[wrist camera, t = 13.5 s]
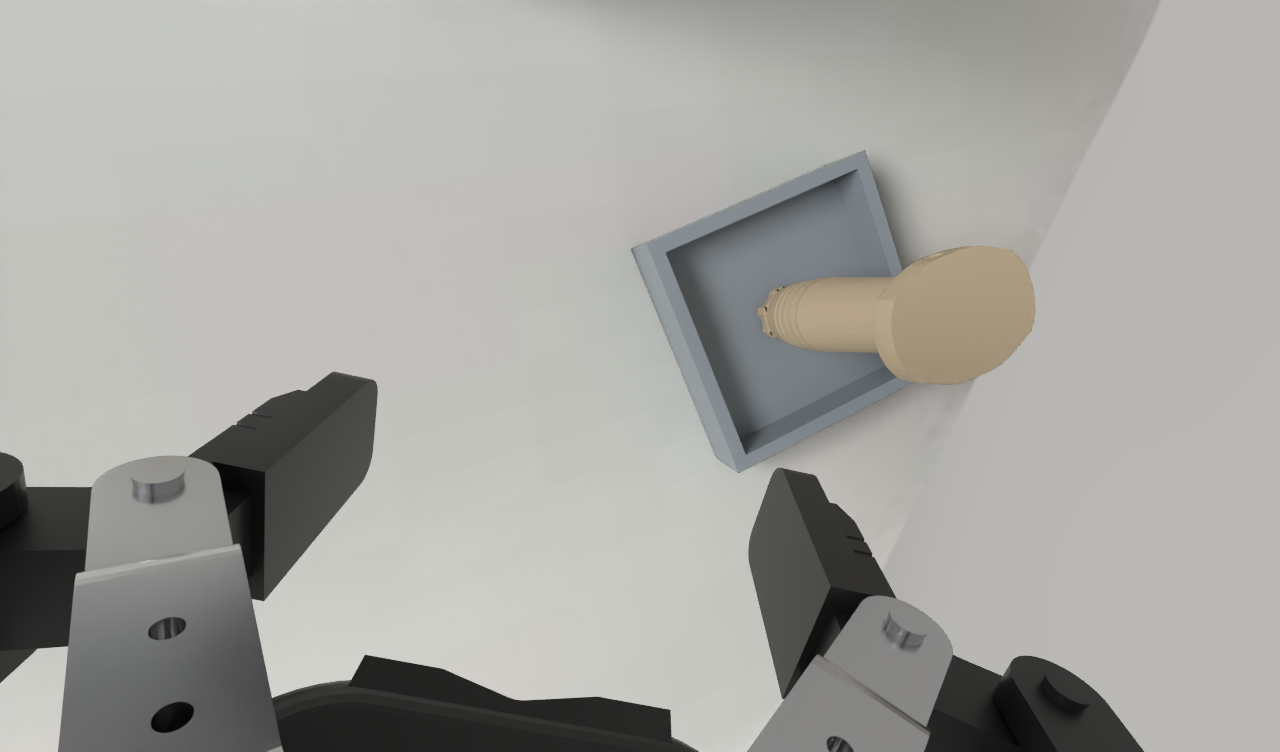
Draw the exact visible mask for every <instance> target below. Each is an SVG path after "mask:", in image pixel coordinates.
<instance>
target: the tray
mask: <svg viewBox="0 0 1280 752" xmlns="http://www.w3.org/2000/svg"><path fill="white" fill-rule="evenodd" d="M631 250H632V253H633V255H634V258H635V260H636V263H637V265H638V267H639V270H640V272H641V275H642V277H643V280H644V282H645V285H646V287H647V289H648V292H649V294H650V297H651V299H652V302H653V304H654V307H655V309H656V311H657V314H658V316H659V319H660V321H661V324H662V326H663V329H664V331H665V334H666V336H667V338H668V341H669V343H670V346H671V348H672V351H673V353H674V356H675V358H676V360H677V363H678V365H679V368H680V370H681V373H682V375H683V378H684V380H685V382H686V385H687V387H688V390H689V392H690V395H691V397H692V400H693V402H694V404H695V407H696V409H697V412H698V414H699V417H700V419H701V422H702V424H703V426H704V429H705V431H706V434H707V436H708V439H709V441H710V444H711V446H712V448H713V451H714V453H715V456H716V458H717V459H719V460H720V461H721V462H723V463H724V464H726V465H727V466H729V467H730V468H732V469H733V470H735V471H736V472H738V473H740V472H742V471H744V470H746V469H748V468H750V467H752V466H754V465H756V464H758V463H759V462H761V461H763V460H765V459H767V458H769V457H771V456H773V455H775V454H777V453H779V452H781V451H783V450H784V449H786V448H788V447H790V446H792V445H794V444H796V443H798V442H800V441H802V440H804V439H806V438H808V437H809V436H811V435H813V434H815V433H817V432H819V431H821V430H823V429H825V428H827V427H829V426H831V425H832V424H834V423H836V422H838V421H840V420H842V419H844V418H846V417H848V416H850V415H852V414H854V413H856V412H857V411H859V410H861V409H863V408H865V407H867V406H869V405H871V404H873V403H875V402H877V401H879V400H881V399H882V398H884V397H886V396H888V395H890V394H892V393H894V392H896V391H898V390H900V389H902V388H904V387H906V386H907V385H909V384H911V383H913V382H912V381H906V380H902V379H899V378H898V377H896V376H895V375H894V374H893V373H892V372H891V371H890V370H889V369H888V368H887V367H886V366H885V364H884V362H883V360H882V359H881V357H880V355H879V353H867V352H822V351H815V350H809V349H804V348H800V347H796V346H793V345H790V344H788V343H785V342H783V341H781V340H780V339H778V338H771V337H768V336H766V335H765V334H764V333H763V331H762V328H763V325H762V321H761V319H760V317H759V316H758V315H757V310H758V307H760V306H762V305H763V304H764V303H765V302H766V300H767V298H768V296H769V292H770V291H772V290H773V289H775V288H778V287H782V286H789V285H791V284H794V283H798V282H802V281H806V280H811V279H818V278H826V277H896V276H897V275H898V274H899V273H900V272H901V271H903V270H902V267H901V264H900V260H899V257H898V254H897V251H896V248H895V244H894V241H893V238H892V235H891V231H890V228H889V225H888V222H887V219H886V215H885V212H884V209H883V206H882V203H881V199H880V196H879V193H878V190H877V187H876V183H875V180H874V177H873V174H872V171H871V167H870V164H869V161H868V158H867V154H866V151H865V150H863V151H861V152H858V153H856V154H853V155H851V156H848V157H846V158H843V159H840V160H838V161H835V162H833V163H830V164H828V165H826V166H823V167H821V168H819V169H816V170H814V171H812V172H809V173H807V174H805V175H802V176H800V177H798V178H795V179H793V180H791V181H788V182H786V183H784V184H781V185H779V186H777V187H774V188H772V189H770V190H767V191H765V192H763V193H760V194H758V195H756V196H753V197H751V198H749V199H747V200H744V201H742V202H740V203H737V204H735V205H733V206H730V207H728V208H726V209H723V210H721V211H719V212H716V213H714V214H712V215H709V216H707V217H705V218H702V219H700V220H698V221H695V222H693V223H691V224H688V225H686V226H684V227H681V228H679V229H677V230H674V231H672V232H670V233H667V234H665V235H663V236H660V237H658V238H656V239H653V240H651V241H649V242H646V243H644V244H642V245H639V246H637V247H635V248H632V249H631Z"/></svg>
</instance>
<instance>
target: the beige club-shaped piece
mask: <svg viewBox="0 0 1280 752" xmlns="http://www.w3.org/2000/svg"><path fill="white" fill-rule="evenodd" d="M757 315H758V316H759V317H760V319H761V321H762V325H763V328H762V331H763V333H764V334H765V335H766V336H768V337H771V338H778V339H780V340H781V341H783V342H785V343H788V344H790V345H793V346H796V347H800V348H804V349H809V350H815V351H822V352H867V353H879V355H880V357H881V359H882V360H883V362H884V364H885V366H886V367H887V368H888V369H889V370H890V371H891V372H892V373H893V374H894V375H895V376H896V377H898V378H899V379H902V380H906V381H912V382H918V383H930V384H945V385H951V384H960V383H963V382H966V381H969V380H972V379H974V378H976V377H978V376H980V375H982V374H985V373H987V372H989V371H991V370H993V369H994V368H996V367H998V366H1000V365H1001V364H1002V363H1003V362H1004V361H1005V360H1007V359H1008V358H1009V357H1010V356H1011V355H1012V353H1013V352H1014V351H1015V350H1016V349H1017V348H1018V346H1019V345H1020V344H1021V343H1022V341H1023V340H1024V339H1025V338H1026V337H1027V336H1028V334H1029V333H1030V332H1031V330H1032V326H1033V322H1034V316H1035V297H1034V291H1033V286H1032V282H1031V279H1030V275H1029V273H1028V271H1027V269H1026V267H1025V265H1024V263H1023V262H1022V260H1021V259H1020V258H1019V257H1018V256H1017V255H1016V254H1015V253H1014V252H1013V251H1012V250H1007V249H1000V248H994V247H986V246H970V247H960V248H953V249H948V250H944V251H941V252H938V253H935V254H932V255H930V256H927V257H924V258H921V259H919V260H917V261H915V262H913V263H912V264H910V265H909V266H908V267H906V268H905V269H904V270H903V271H901V272H900V273H899V274H898V275H897V276H896V277H826V278H818V279H811V280H806V281H802V282H798V283H794V284H791V285H789V286H782V287H778V288H775V289H773V290H772V291H770V292H769V296H768V298H767V300H766V302H765V303H764V304H763V305H762V306H760V307H758V310H757Z"/></svg>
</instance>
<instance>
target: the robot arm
mask: <svg viewBox="0 0 1280 752" xmlns="http://www.w3.org/2000/svg"><path fill="white" fill-rule="evenodd" d="M377 393H378V391H377V384H376V382H375V381H374V380H371V379H366V378H362V377H357V376H352V375H348V374H343V373H338V372H332V373H330V374H329V375H328V376H326V377H325V378H324V379H322V380H321V381H320V382H318V383H317V384H316V385H314V386H313V387H312V388H310V389H309V390H308V391H301V390H296V391H293V392H290V393H287V394H284V395H281V396H278V397H274V398H271V399H270V400H268V401H267V402H265V403H264V404H263V405H261V406H260V407H258V408H257V409H255V410H254V411H253V413H252V415H251V414H248V415H247V416H245V417H244V418H242V419H241V420H240V421H238V422H237V425H232V426H231V427H230V428H228V429H227V430H225V431H224V432H222V433H221V434H219V435H218V436H217V437H215V438H214V439H212V440H211V441H209V442H208V443H206V444H205V445H204V446H202V447H201V448H199V449H198V450H196V451H195V452H194V453H192V454H191V455H189V456H188V457H186V456H157V457H150V458H144V459H139V460H135V461H132V462H128V463H125V464H122V465H120V466H117V467H115V468H113V469H111V470H109V471H107V472H106V473H104V474H103V475H102V476H100V477H99V478H98V479H97V480H96V482H95V483H94V484H93V487H26V482H25V476H24V469H23V465H22V463H21V462H20V461H19V460H18V459H17V458H15V457H14V456H11V455H8V454H6V453H1V452H0V683H1V682H2V681H3V680H4V679H5V678H6V677H7V676H8V675H9V674H11V673H12V672H13V671H14V670H15V669H16V668H17V667H18V666H19V665H20V664H21V663H23V662H24V661H25V660H26V659H27V658H28V657H29V656H30V655H31V654H32V653H33V652H34V651H35V650H36V649H37V648H51V647H64V646H68V655H67V665H66V676H65V686H64V696H63V707H62V717H61V727H60V738H59V748H58V752H698V751H697V750H695V749H694V748H692V747H690V746H688V745H687V744H685V743H683V742H681V741H679V740H677V739H675V738H673V737H671V716H670V710H668V709H662V708H657V707H651V706H645V705H640V704H634V703H629V702H623V701H618V700H612V699H607V698H601V697H585V698H565V699H546V700H527V701H521V700H514V699H511V698H508V697H506V696H504V695H501V694H499V693H497V692H494V691H492V690H490V689H487V688H485V687H483V686H481V685H478V684H476V683H474V682H471V681H469V680H467V679H464V678H462V677H460V676H458V675H455V674H453V673H451V672H448V671H446V670H444V669H440V668H435V667H429V666H424V665H418V664H413V663H407V662H401V661H396V660H390V659H385V658H379V657H374V656H368V655H365V656H364V658H363V660H362V662H361V663H360V665H359V667H358V669H357V671H356V673H355V674H354V676H353V678H352V680H349V681H336V682H330V683H323V684H317V685H313V686H309V687H305V688H301V689H297V690H294V691H291V692H288V693H285V694H282V695H279V696H276V697H274V698H272V697H271V692H270V687H269V682H268V677H267V672H266V667H265V663H264V658H263V653H262V648H261V643H260V638H259V633H258V628H257V624H256V619H255V614H254V609H253V604H252V599H256V600H261V601H264V600H265V599H266V598H267V597H268V595H269V594H270V593H271V592H272V591H273V589H274V588H275V587H276V586H277V585H278V583H279V582H280V581H281V580H282V579H283V577H284V576H285V575H286V574H287V572H288V571H289V570H290V569H291V568H292V566H293V565H294V564H295V563H296V562H297V560H298V559H299V558H300V557H301V555H302V554H303V553H304V552H305V551H306V549H307V548H308V547H309V546H310V545H311V543H312V542H313V541H314V540H315V539H316V537H317V536H318V535H319V534H320V532H321V531H322V530H323V529H324V528H325V526H326V525H327V524H328V523H329V522H330V520H331V519H332V518H333V517H334V516H335V514H336V513H337V512H338V511H339V509H340V508H341V507H342V506H343V505H344V503H345V502H346V501H347V500H348V499H349V497H350V496H351V495H352V494H353V492H354V491H355V490H356V489H357V488H358V486H359V485H360V484H361V483H362V481H363V479H364V478H365V476H366V474H367V471H368V469H369V466H370V462H371V458H372V453H373V442H374V430H375V418H376V406H377ZM749 564H750V568H751V572H752V576H753V580H754V584H755V588H756V592H757V597H758V601H759V605H760V609H761V613H762V617H763V621H764V625H765V630H766V634H767V638H768V642H769V646H770V650H771V654H772V658H773V663H774V667H775V671H776V675H777V679H778V683H779V687H780V692H781V696H782V699H784V701H783V702H782V704H781V705H780V706H779V708H778V709H777V711H776V712H775V713H774V715H773V716H772V718H771V719H770V720H769V722H768V723H767V725H766V726H765V727H764V729H763V730H762V732H761V733H760V734H759V736H758V737H757V739H756V740H755V741H754V743H753V744H752V746H751V747H750V749H749V750H748V751H747V752H1144V751H1143V750H1142V748H1141V747H1140V746H1139V745H1138V743H1137V742H1136V740H1135V739H1134V738H1133V736H1132V735H1131V734H1130V733H1129V731H1128V730H1127V729H1126V727H1125V726H1124V725H1123V723H1122V722H1121V721H1120V719H1119V718H1118V717H1117V715H1116V714H1115V713H1114V711H1113V710H1112V709H1111V708H1110V706H1109V705H1108V704H1107V703H1106V702H1105V700H1104V699H1103V698H1102V697H1101V696H1100V695H1099V694H1098V693H1097V692H1096V691H1095V690H1094V689H1092V688H1091V687H1090V686H1089V685H1088V684H1087V683H1085V682H1084V681H1083V680H1081V679H1080V678H1078V677H1077V676H1076V675H1074V674H1073V673H1071V672H1069V671H1068V670H1066V669H1064V668H1062V667H1060V666H1058V665H1056V664H1054V663H1052V662H1050V661H1047V660H1044V659H1041V658H1037V657H1032V656H1019V657H1016V658H1015V659H1013V661H1012V662H1011V663H1010V665H1009V667H1008V668H1007V670H1006V672H1005V673H1004V675H1003V676H1001V675H998V674H996V673H994V672H991V671H989V670H986V669H984V668H982V667H980V666H977V665H975V664H972V663H970V662H968V661H965V660H963V659H961V658H959V657H956V656H954V655H953V649H952V645H951V642H950V640H949V639H948V637H947V635H946V634H945V632H944V631H943V630H942V629H941V627H940V626H939V625H938V624H937V623H936V622H935V621H933V620H932V619H931V618H930V617H929V616H928V615H926V614H925V613H924V612H922V611H920V610H919V609H917V608H916V607H914V606H912V605H910V604H908V603H906V602H904V601H901V600H898V599H897V598H896V597H895V595H894V593H893V591H892V589H891V587H890V585H889V584H888V582H887V580H886V578H885V576H884V574H883V573H882V571H881V569H880V567H879V565H878V563H877V562H876V560H875V558H874V557H872V552H871V550H870V549H869V547H868V545H867V543H866V542H864V538H863V536H862V534H861V532H860V530H859V528H858V527H857V525H856V523H855V521H854V520H853V519H852V518H851V517H850V516H848V515H847V514H846V513H845V512H844V511H843V510H842V509H841V508H840V507H839V506H838V505H837V504H833V503H829V501H828V499H827V497H826V495H825V493H824V491H823V489H822V487H821V485H820V483H819V481H818V479H817V477H816V476H815V475H812V474H807V473H802V472H797V471H793V470H788V469H783V468H777V469H776V470H775V471H774V473H773V475H772V477H771V479H770V482H769V485H768V488H767V490H766V493H765V496H764V499H763V501H762V504H761V507H760V510H759V513H758V515H757V518H756V521H755V524H754V527H753V529H752V533H751V537H750V542H749Z"/></svg>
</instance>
